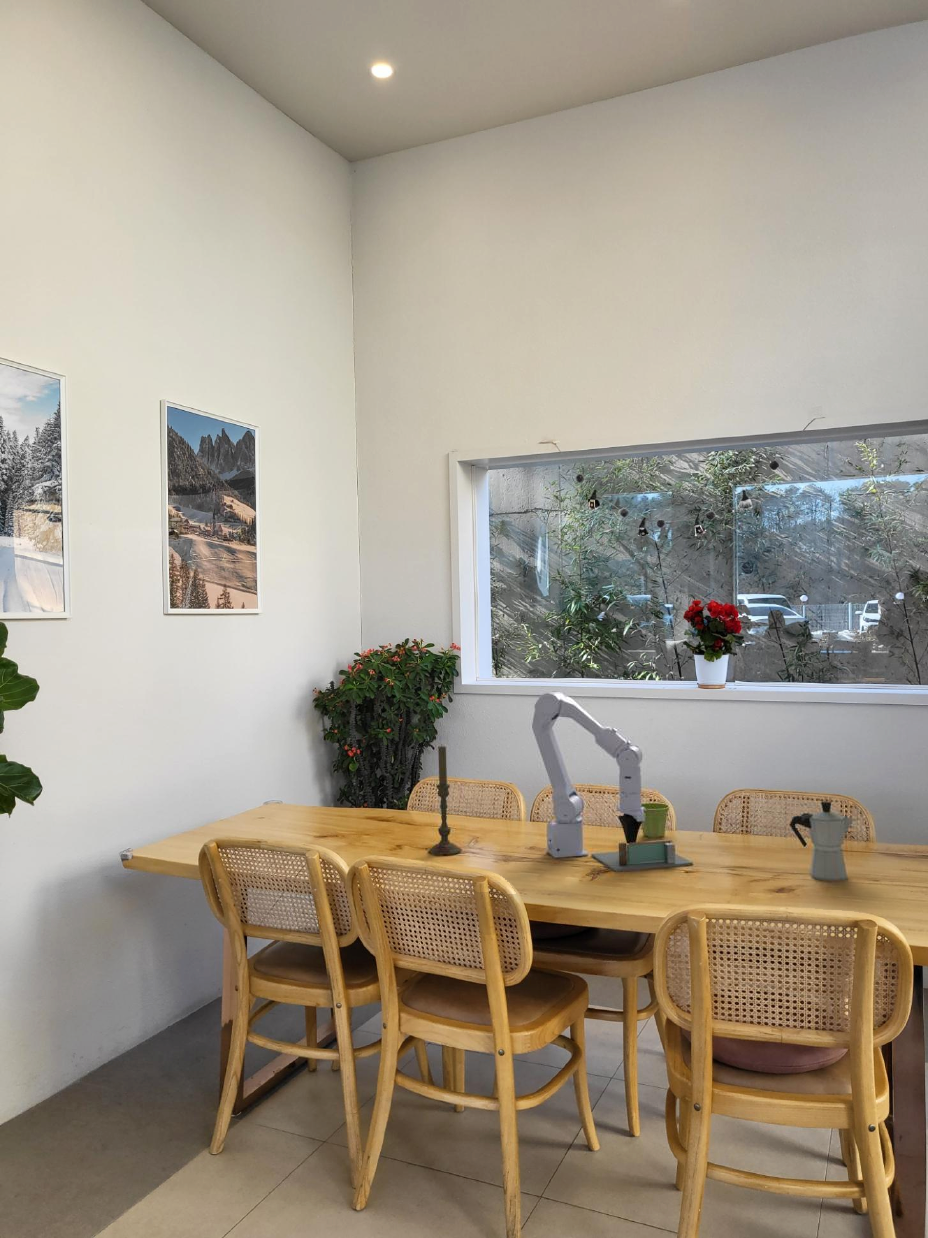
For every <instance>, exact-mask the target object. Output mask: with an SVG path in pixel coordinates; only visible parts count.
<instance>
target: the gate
mask: <svg viewBox="0 0 928 1238" xmlns="http://www.w3.org/2000/svg"><path fill="white" fill-rule="evenodd" d="M664 843H673V841H672V840H671V839H659V840H649V841H636V842H633V843H629V844H627V863H629V864H630V863H642V862H654V861H665V856H664ZM673 844H674V843H673Z"/></svg>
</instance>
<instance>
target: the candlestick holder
mask: <svg viewBox="0 0 928 1238" xmlns="http://www.w3.org/2000/svg"><path fill="white" fill-rule="evenodd" d="M437 748H438V749H437V751H438V784H436V789H437V790H438V791H437V796H438V797H439V798H440V803H439V808H440V812H441V813H440V816H441V817H440V818H441V825H440V827H439V828H438V829H437V831H438V834H439V836H440V839H441V840H440V841H439V842H438V843H435V845H433V846H432V847H430V848H429V849H428V853H429V854H430V855H432V856H437V857H448V856H455V855H459V854H461V852H462V848H461V847H459V846H457V844H455V843H452V842H451V840H449V836H450V834H451V827H449V825H448V822H447V820H448V819H447V817H448V814H447V809H448V803H447V802H448V801H447V797H449V795H450V791H449V789H450V788H451V786H450V784H448V773H447V767H448V766H447V746H446V745H443V744H442V743H441V744H440V746H438V747H437Z"/></svg>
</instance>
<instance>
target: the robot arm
mask: <svg viewBox="0 0 928 1238" xmlns="http://www.w3.org/2000/svg"><path fill="white" fill-rule="evenodd" d="M533 707H534V713H533V718H532V722H531V723H532V724H531V727H532V728H531V729H532V732H533V734H534V738H535V741H536V743H537V746H538V749H539V752H540V755H541V759H542V762H543V765H544V767H545V771H546V773H547V776H548V779H549V782H550V785H551V789H552V794H551V799H552V802H553V807H552V812H553V816H554V817H555V821H550V822H547V826H546V852H547V853H549V855H551V856H552V857H554V858H556V859H557V858H559V859H560V858H569V857H579V856H582V857H583V856H589V852H587V851H586V850H584V835H583V834H584V831H583V829H584V828H583V817H582V815H581V814H582V812H583V811H584V807H585V804H584V800H583V797H581V795H580V794H578V792H577V790H576V787H575V786H574V784H573V783H572V782H571V780H570V776H569V774H568V772H567V768H566V766H565V763H564V762H565V761H564V759H563V756H562V754H561V750H560V747H559V744H558V742H557V739H556V736H555V735H556V734H555V732H554V729H553V727H554V725H555V723H556V722H557V720H558V718H559V717H561V718H566V719H567V718H569V719H572V720H573V721H575V723H577V724H579V726H581V727H582V728H584V729H585V730H586V731H588V733H590V734H591V735H592V736H594V741H595V743H596V745H597V746H598V747H600V748H601V749H602V750H604V751H605V752H606V753H607V754H608V755H609V756H610V757H612V758H613V759H615V761H616V764H617V765H618V767H619V775H618V782H619V783H618V785H619V786H618V787H619V788H618V789H619V792H618V793H619V794H618V795H619V803H616V811H617V812H619V813H622V815H618V816H617V818H618V820H619V822H620V824H621V826H622V830H623V834H624V838H625V843H626V844H627V845H629V843H633V842H637V839H638V834H639V831H640V827H642V822H643V821H645V814H644V813H643V811H646V808H644V807H641V804H642V774H641V765H640V764H641V762H642V761H643V753H642V751H641V749H640V748H639V746H638V745H635V744H632V742H631V741H630V740H626V739H625V738H624V737H623V736H621V735H620V734H619V733H618V729H617V728H615V727H610V726H602V725H601V724H600V723H599V722H598V721H597V720H596V719H595V718H593V717H592V716H591V715H590V714H589V713H588V712H587V711H586V710H585V709H584V708H582V707H581V705H579V704H578V703H577V702H576V701H575V700H574V699H573V698H572V697H570V696H567V695H566V693H564V692H563V691H561V690H554V691H551V692H546V693H545V692H544V693H543V694H541V695H540V696H539V698H538V699H537V700H536V702H535V704H534V706H533Z"/></svg>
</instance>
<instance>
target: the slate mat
mask: <svg viewBox="0 0 928 1238" xmlns="http://www.w3.org/2000/svg"><path fill="white" fill-rule="evenodd" d="M591 857H592V858H594V859H595V860H597V861H599V863H601V864H602V865H604V866H605V867H606V868H609V869H610V870H612V871H613V872H615V873H619V872H628V871H629V872H631V871H632V872H633V871H640V870H642V871H643V870H652V869H653V870H655V869H661V868H664V869H665V868H673V867H675V868H676V867H685V866H686V867H688V866H693V864H694V863H693V862H692V861H690V860H688V859H686V858H685V857H683V856H681V855H679V854H678V853H675V864H667V863H665V861H654V862H642V863H630V864H629V863H627V866H620V865H619V850H618V851H610V852H609V851H608V852H607V851H606V852H597V853H591Z"/></svg>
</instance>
